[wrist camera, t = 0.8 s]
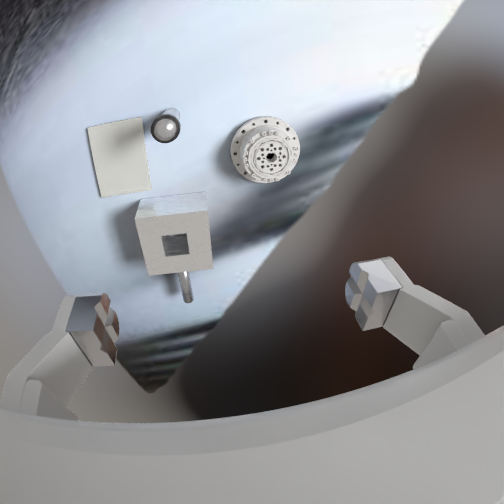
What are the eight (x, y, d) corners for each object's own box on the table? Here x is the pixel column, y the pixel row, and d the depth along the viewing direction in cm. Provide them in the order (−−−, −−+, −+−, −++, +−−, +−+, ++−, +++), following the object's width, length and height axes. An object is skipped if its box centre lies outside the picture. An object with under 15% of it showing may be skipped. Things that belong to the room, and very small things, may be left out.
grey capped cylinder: (158, 106, 34) (148, 118, 27) (182, 103, 35) (178, 114, 28) (160, 128, 36) (152, 146, 29) (183, 125, 36) (180, 142, 29)
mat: (88, 127, 33) (87, 128, 33) (142, 116, 34) (141, 117, 34) (102, 195, 40) (101, 197, 39) (151, 188, 41) (151, 190, 41)
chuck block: (140, 199, 42) (134, 218, 37) (205, 191, 43) (207, 210, 38) (162, 290, 53) (160, 314, 48) (214, 285, 55) (217, 308, 50)
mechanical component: (232, 182, 43) (296, 176, 45) (236, 195, 40) (305, 188, 41) (227, 118, 37) (297, 114, 39) (231, 124, 34) (308, 120, 35)
